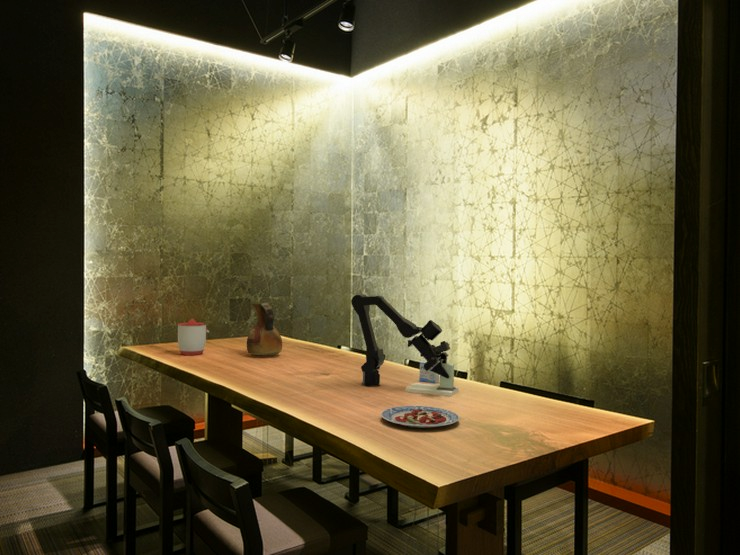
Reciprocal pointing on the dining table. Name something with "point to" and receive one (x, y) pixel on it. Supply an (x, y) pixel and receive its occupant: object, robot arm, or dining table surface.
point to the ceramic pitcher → (264, 333)
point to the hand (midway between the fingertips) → (450, 376)
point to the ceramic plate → (420, 416)
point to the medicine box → (427, 375)
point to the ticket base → (431, 389)
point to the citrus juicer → (192, 337)
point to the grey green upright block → (448, 382)
